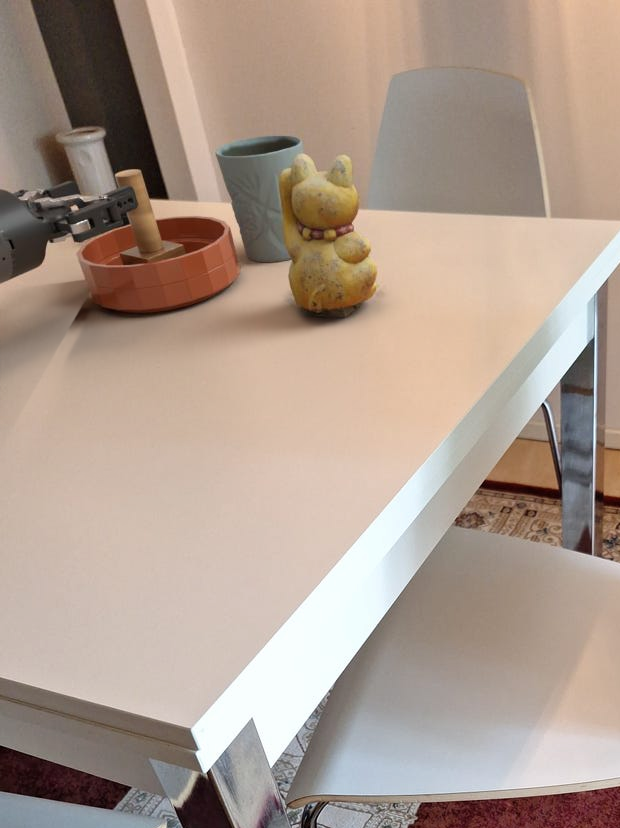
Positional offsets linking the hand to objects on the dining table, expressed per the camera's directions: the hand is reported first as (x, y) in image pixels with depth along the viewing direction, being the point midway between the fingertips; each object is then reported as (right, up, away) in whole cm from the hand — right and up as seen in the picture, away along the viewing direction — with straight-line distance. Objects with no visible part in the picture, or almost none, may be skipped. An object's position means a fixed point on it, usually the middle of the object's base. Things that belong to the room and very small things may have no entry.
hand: (105, 193), depth 98 cm
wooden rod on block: (+3, -6, +9) cm, 12 cm away
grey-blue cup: (+15, +1, +18) cm, 23 cm away
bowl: (+3, -6, +10) cm, 13 cm away
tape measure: (-9, +8, +28) cm, 31 cm away
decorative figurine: (+25, -12, +1) cm, 28 cm away
